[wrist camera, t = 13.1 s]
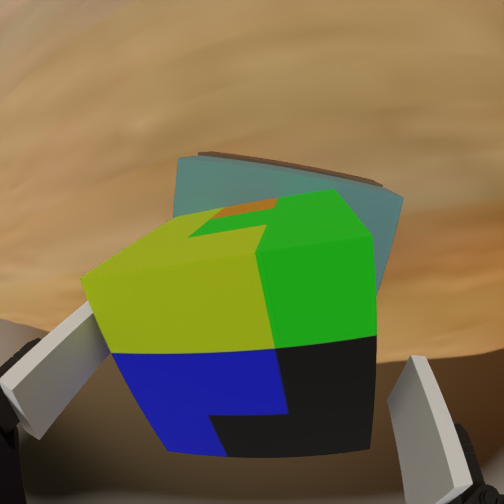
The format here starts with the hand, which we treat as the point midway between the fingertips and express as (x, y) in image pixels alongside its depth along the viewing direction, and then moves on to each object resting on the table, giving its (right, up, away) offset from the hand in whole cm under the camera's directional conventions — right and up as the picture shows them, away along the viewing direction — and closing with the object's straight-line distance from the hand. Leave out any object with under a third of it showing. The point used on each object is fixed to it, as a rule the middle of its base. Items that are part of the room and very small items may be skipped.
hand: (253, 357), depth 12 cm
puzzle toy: (+1, +3, +8) cm, 9 cm away
